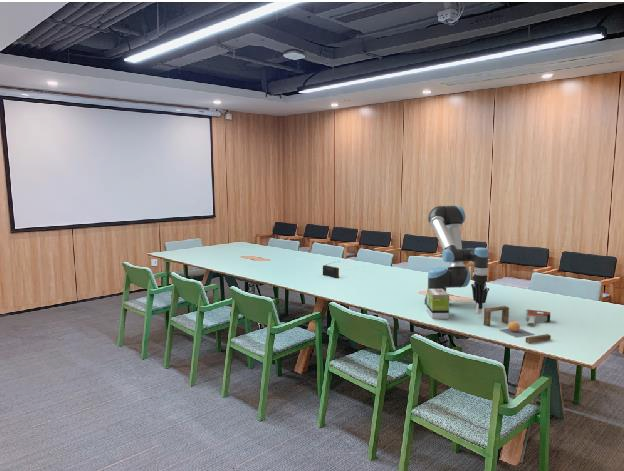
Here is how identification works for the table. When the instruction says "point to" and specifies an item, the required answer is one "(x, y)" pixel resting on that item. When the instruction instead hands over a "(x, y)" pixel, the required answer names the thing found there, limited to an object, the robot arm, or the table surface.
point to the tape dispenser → (536, 317)
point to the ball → (514, 326)
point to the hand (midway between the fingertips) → (478, 313)
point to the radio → (331, 271)
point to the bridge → (488, 310)
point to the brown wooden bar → (538, 338)
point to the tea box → (438, 303)
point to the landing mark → (518, 333)
